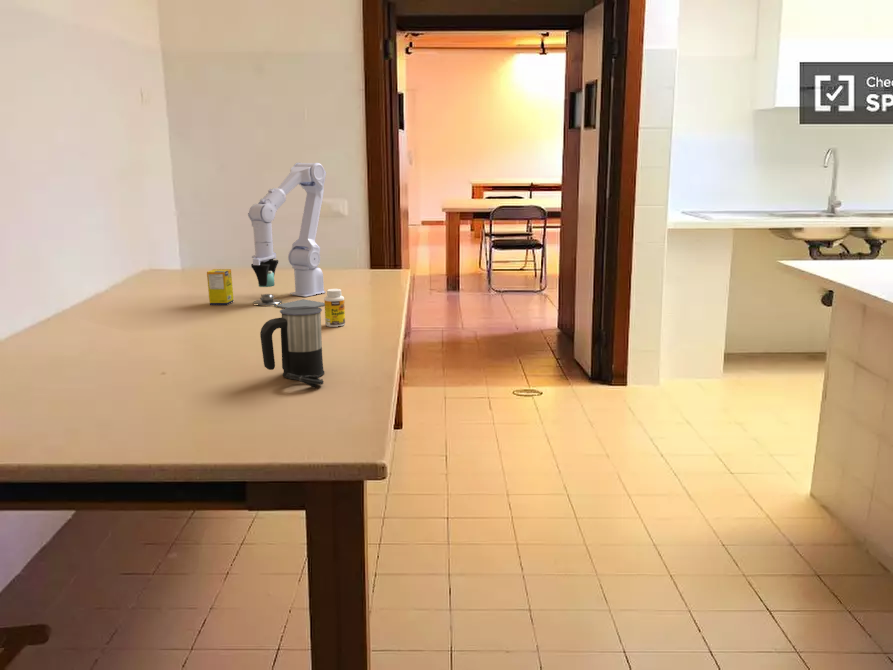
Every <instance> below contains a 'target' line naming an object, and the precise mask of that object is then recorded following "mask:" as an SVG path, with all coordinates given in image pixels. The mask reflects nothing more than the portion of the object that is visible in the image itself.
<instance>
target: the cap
mask: <svg viewBox="0 0 893 670" xmlns="http://www.w3.org/2000/svg"><path fill="white" fill-rule="evenodd" d="M257 283H258V287H259V288H268V287H269V288H271V287H275V274H274V273H273V272H272V271H268V275H267V286H260V285H259V282H257Z"/></svg>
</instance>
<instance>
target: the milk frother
mask: <svg viewBox="0 0 893 670" xmlns="http://www.w3.org/2000/svg"><path fill="white" fill-rule="evenodd" d="M322 311H323V309H322V308H321V307H309V306H302V307H301V306H300V307H290V308H285V309H284V308H281V309H280V310H279V313H280V314H281V317H275V318H271V319H269V320H267V321H266V322H264V324H263V325H262V326H261V329H260V334H259V335H260V343H261V352H262V359H263V366H264V368H266V369H267V370H269V371H273V370H274V369H276V367H275V366H276V361H275V352H274V343H273V341H274V340H273V333H274V332H275V331H276V330H278V329H280V342H281V343H280V344H281V347H280V348H281V367H282V370H283V372H282V376H283V377H284V378H286V379H290V380H295V381H299V382H301V383H304V384H306V385H308V386H311V387H312V388H316V387H317V385H323V384H324V379H323V378H320V377H322V376H323V375H325V372H326V371H325V370H324V363H323V361H324V360H323V347H322V346H323V345H322V342H323V341H322V316H321V313H322Z"/></svg>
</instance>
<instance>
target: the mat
mask: <svg viewBox="0 0 893 670" xmlns="http://www.w3.org/2000/svg"><path fill="white" fill-rule="evenodd" d="M275 306H277V307H276V308H279V307H281V308H280V309H284V308H290V307H300V306H301V307H302V306H309V307H318V308H321V306H322V307H325V302H321V301H316V300H311V299H305V298H303V299H298V300H294V301H293V300H292V301H290V302H282V303H281V304H278V305H274V306H273V307H275Z"/></svg>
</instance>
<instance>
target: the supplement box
mask: <svg viewBox="0 0 893 670" xmlns="http://www.w3.org/2000/svg"><path fill="white" fill-rule="evenodd" d="M206 277H207V287H208V288H207V289H208V299H209V305H210V306H228V305H227V304H229V303H230V304H232V303H234V302H233V301H234V299H235V298H234V288H233V277H232V269H229V268H226V269H225V268H220V269H219V268H218V269H217V268H214V269H211V270H208V271H207V272H206ZM231 302H232V303H231ZM230 304H229V305H230Z"/></svg>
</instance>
